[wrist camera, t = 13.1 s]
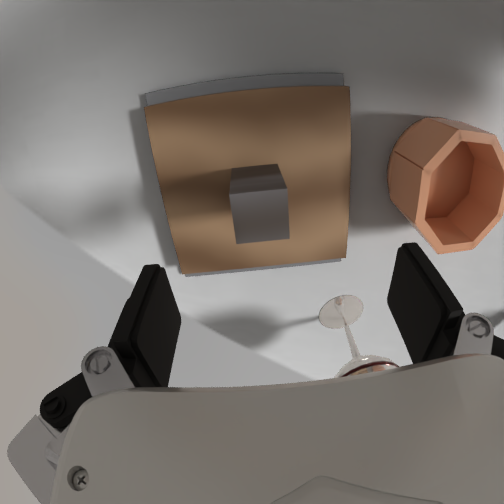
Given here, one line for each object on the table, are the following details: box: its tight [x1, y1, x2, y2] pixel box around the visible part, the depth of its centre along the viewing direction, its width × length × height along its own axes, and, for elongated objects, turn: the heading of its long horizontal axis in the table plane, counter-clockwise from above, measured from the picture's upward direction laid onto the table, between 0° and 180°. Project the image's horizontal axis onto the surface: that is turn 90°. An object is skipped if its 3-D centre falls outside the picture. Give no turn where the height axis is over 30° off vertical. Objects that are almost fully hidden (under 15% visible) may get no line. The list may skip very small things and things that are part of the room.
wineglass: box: [319, 295, 399, 378], centre depth 26 cm, size 7×7×12 cm
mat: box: [145, 73, 344, 277], centre depth 22 cm, size 16×14×1 cm
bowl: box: [387, 117, 504, 254], centre depth 20 cm, size 10×10×6 cm
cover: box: [144, 86, 351, 274], centre depth 20 cm, size 14×14×6 cm
